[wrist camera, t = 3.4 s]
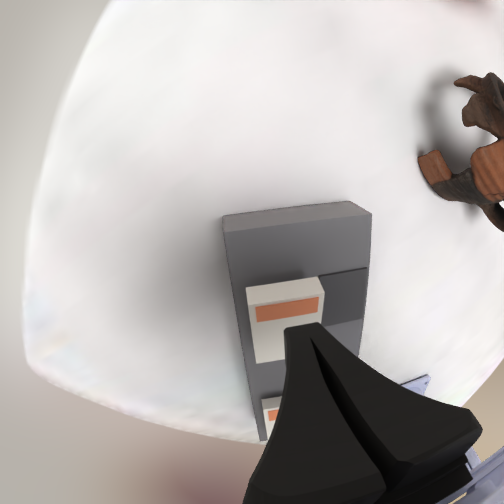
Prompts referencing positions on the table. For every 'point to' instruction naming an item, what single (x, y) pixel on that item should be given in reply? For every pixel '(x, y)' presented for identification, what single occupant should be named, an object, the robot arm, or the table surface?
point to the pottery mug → (476, 153)
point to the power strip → (299, 275)
